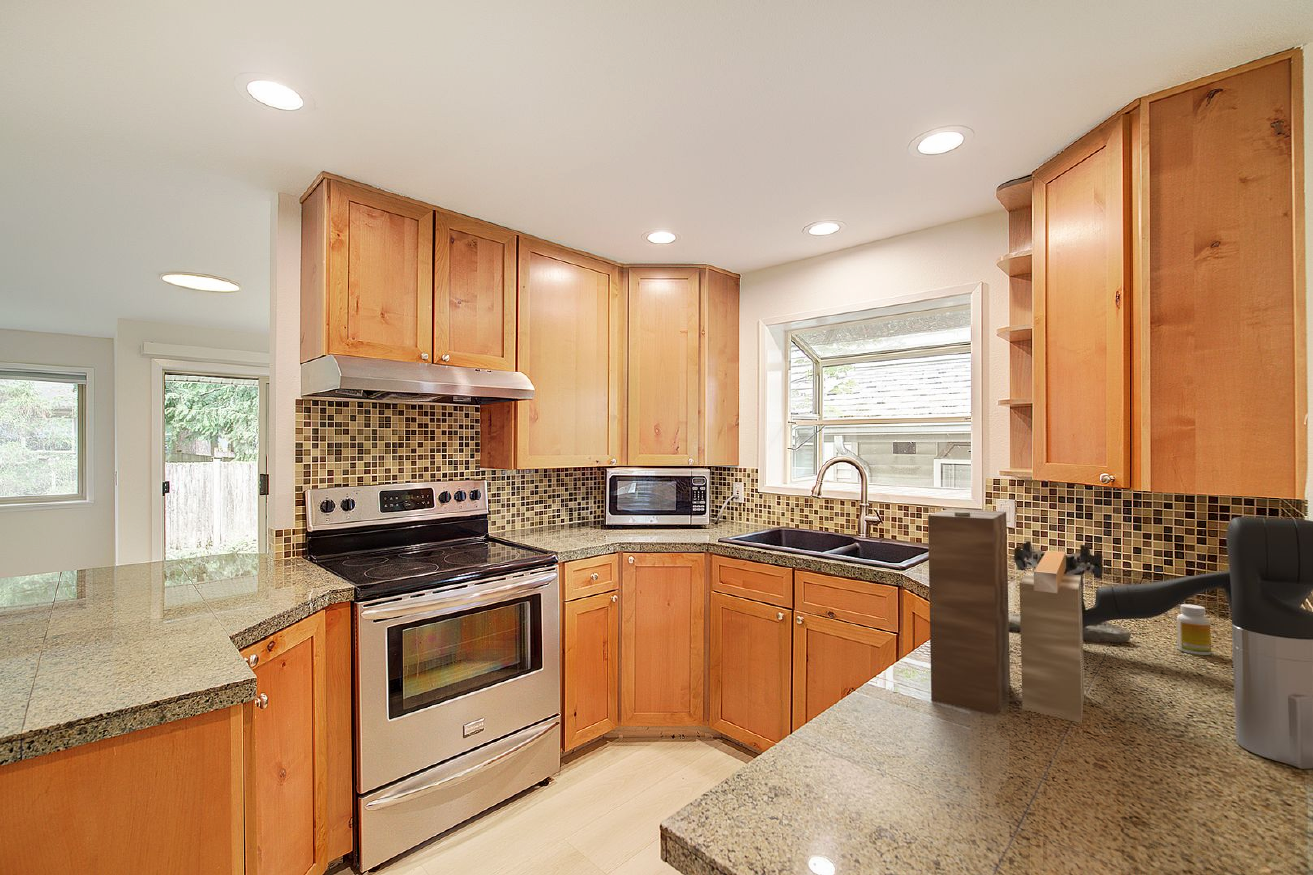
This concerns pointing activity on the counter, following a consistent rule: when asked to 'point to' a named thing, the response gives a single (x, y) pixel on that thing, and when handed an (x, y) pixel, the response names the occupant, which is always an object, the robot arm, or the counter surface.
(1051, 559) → the pale tan wood block
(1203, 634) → the supplement bottle
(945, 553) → the tall stand
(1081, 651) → the short stand
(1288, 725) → the robot arm
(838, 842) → the counter surface
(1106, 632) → the long grey stone
